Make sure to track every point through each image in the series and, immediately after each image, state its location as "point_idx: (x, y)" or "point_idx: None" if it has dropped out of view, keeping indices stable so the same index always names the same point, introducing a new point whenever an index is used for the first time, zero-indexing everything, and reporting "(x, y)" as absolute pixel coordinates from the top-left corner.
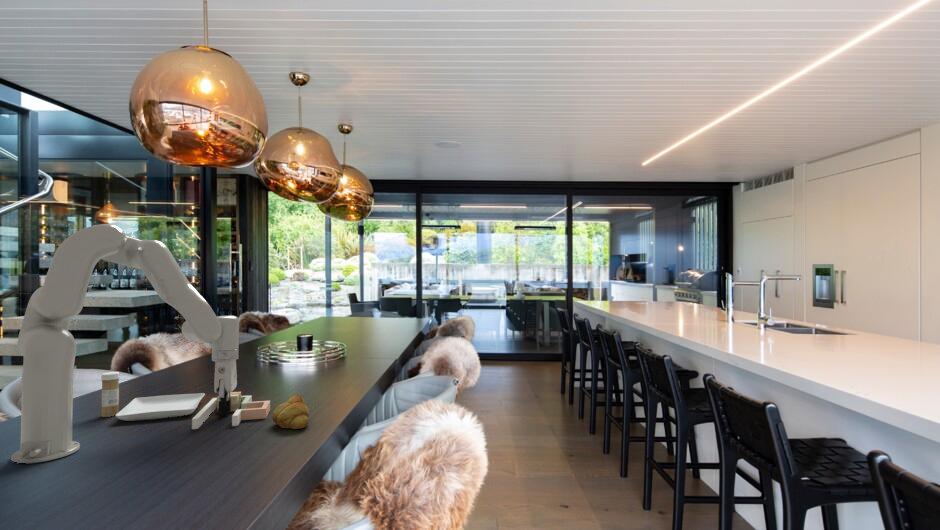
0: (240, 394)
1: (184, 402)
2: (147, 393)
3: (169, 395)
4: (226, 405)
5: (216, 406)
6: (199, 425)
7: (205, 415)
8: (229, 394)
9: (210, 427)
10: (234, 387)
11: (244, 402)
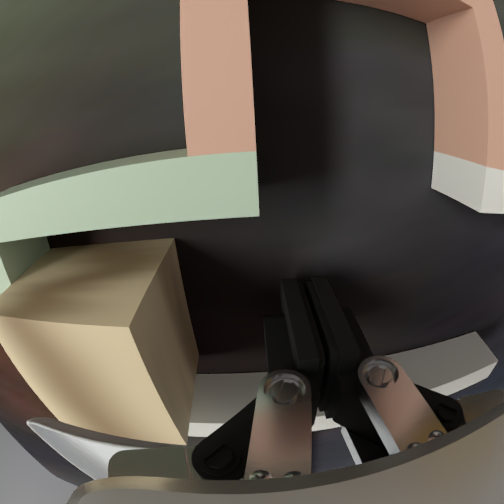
0: (10, 302)
1: (91, 445)
2: (44, 457)
3: (90, 475)
4: (364, 337)
5: None
6: (461, 341)
7: None
8: (310, 424)
9: (486, 291)
10: (422, 485)
11: (207, 187)
